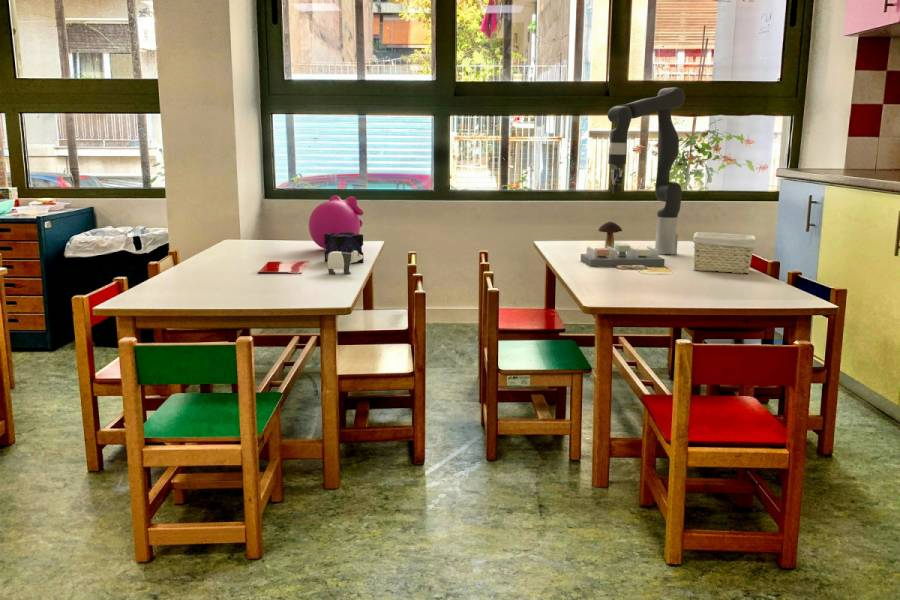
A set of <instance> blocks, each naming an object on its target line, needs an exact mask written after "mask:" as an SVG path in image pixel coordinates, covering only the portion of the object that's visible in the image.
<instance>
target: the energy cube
mask: <svg viewBox="0 0 900 600" xmlns="http://www.w3.org/2000/svg"><path fill="white" fill-rule="evenodd" d="M324 244H325V245H326V249H325V251H324V262H326V263H328V259H326V255H327V254H329V253H330V252H335V251H338V252H347V253H351V252H352V250H354V251H357V252H358V253H359V254H360V255H363V256H364V252H363V251H362V250H363V249H362V248H363V246H364V234H361V233H359V234H354V233H352V232H341V233H340V234H335V233H326V234H324ZM352 264H364V257H363V258H362V259H361V260H359V261H357V262H353V263H352Z"/></svg>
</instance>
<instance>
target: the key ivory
mask: <svg viewBox="0 0 900 600" xmlns="http://www.w3.org/2000/svg"><path fill="white" fill-rule="evenodd" d="M634 249H636V250H638V255H639V257H646V256H647V255H650V249H647V247H635V248H634Z"/></svg>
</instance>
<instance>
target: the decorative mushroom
mask: <svg viewBox="0 0 900 600" xmlns="http://www.w3.org/2000/svg"><path fill="white" fill-rule="evenodd" d="M597 231H598V232H600V233H601V232H602V233H606V236H605V243H604V248H607V247H611V248H614V249H615V238H614V236H615V235H614V234H615V233H619V232H623V229H622V227H621V226H619V224H617V223H616V222H613V221H608V222H605V223H604V224H602V225H601V226H600V227H599V228H598V230H597Z"/></svg>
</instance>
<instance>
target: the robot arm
mask: <svg viewBox="0 0 900 600" xmlns="http://www.w3.org/2000/svg"><path fill="white" fill-rule="evenodd" d="M685 100H686V94H685V92H684V90H683V89H682V88H680V87H664V88H663V87H662V88H661V89H660V90H659V91H658V93H657V96H654V97H647V98H642V99H639V100H635V101H632V102H629V103H626V104H620V105H619V104H618V105H616V106H613V107H611V108H610V109H609V110H608V112H607V119H608V121H609V122H611V123H613V124H616V127H615V128H613V129H612V130H610V134H609V135H610V137H609V139H610V140H609V147H608V163H607V164H608V165H611V168H610V171H609V178H610V182H611V183H610V184H612V194H619V187H620V185H621V184H622V180H623V178H624V176H625V175H624V172H623V168H622V167H623V165H626V164H627V140H628V132H629V129H630V125H631V122H632V120H633V119H637V118H641V117H645V116H647V115H650V114H653V113H656V112H657V121H658V122H657V128H658V129H657V131H658V132H657V133H658V137H657V138H658V139H657V171H656V180H655V188H654V189H655V191H654V194H655V198H656V199H657V201H659V202H664V203H665V205H664V207H663V208H661V209H659V210H658V211H657V217H656V229H655V231H656V232H655V243H654V245H655V246H654V247H655V248H654V249H657V250H659V255H665V254H671V255H677V254H678V253H677V252H678V244H679V241H678V239H679V233H677V230H678V217H679V212H680V210H681V203H682V198H683V197H682V196H683V195H682V194H683V190H682V186H681V184H680V183H678V182H674V181H673V182H672V181H670V175H671V169H672V167H673V166H674V163H675V162H676V159H677V157H678V155H679V149H680V148H679V147H680V139H679V134H678V133H677V130H676V127H675V126H674V123H673V120H672V110H674V109H679V108H680V107H682V106H683V104H684V103H685Z"/></svg>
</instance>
